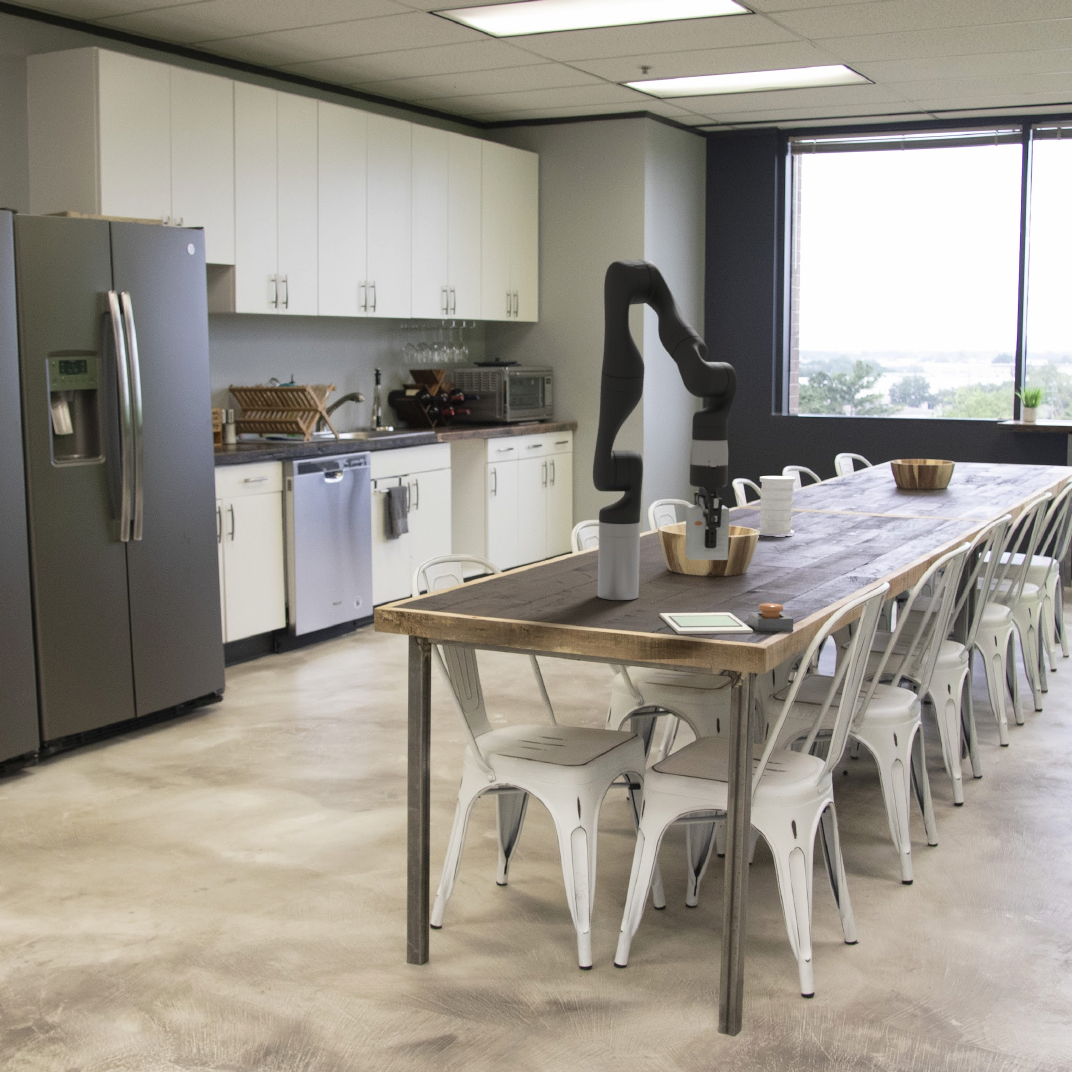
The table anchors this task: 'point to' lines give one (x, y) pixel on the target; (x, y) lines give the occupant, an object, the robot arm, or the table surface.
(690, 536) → the small box
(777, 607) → the button
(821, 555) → the table surface
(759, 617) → the button base
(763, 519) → the decorative container
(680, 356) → the robot arm
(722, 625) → the white rectangular board
